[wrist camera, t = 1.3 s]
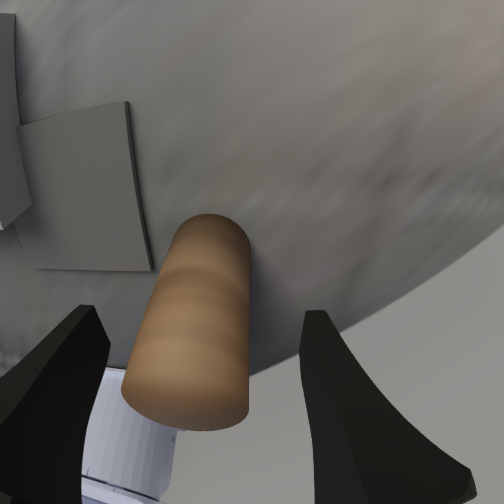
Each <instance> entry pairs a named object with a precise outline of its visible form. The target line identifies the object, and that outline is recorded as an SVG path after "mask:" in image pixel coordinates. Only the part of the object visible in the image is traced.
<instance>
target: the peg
mask: <svg viewBox="0 0 504 504" xmlns="http://www.w3.org/2000/svg"><path fill="white" fill-rule="evenodd" d="M249 299H250V244H249V240H248V238H247V235H246V234H245V232H244V231H243V229H242V228H241V227H240V226H239V225H238V224H236V223H235V222H234V221H232V220H230V219H229V218H226V217H224V216H220V215H215V214H202V215H197V216H194V217H192V218H190V219H188V220H186V221H185V222H184V223H183V224H182V225H181V226H180V227H179V228H178V230H177V231H176V233H175V236H174V238H173V240H172V243H171V245H170V248H169V250H168V253H167V255H166V258H165V260H164V263H163V266H162V268H161V271H160V273H159V276H158V279H157V281H156V284H155V287H154V289H153V292H152V295H151V297H150V300H149V303H148V306H147V309H146V311H145V314H144V317H143V320H142V323H141V326H140V329H139V332H138V335H137V337H136V340H135V344H134V347H133V350H132V353H131V356H130V359H129V362H128V365H127V369H126V372H125V375H124V378H123V382H122V385H121V393H122V396H123V398H124V400H125V401H126V402H127V404H128V405H129V406H130V407H131V408H133V409H134V410H135V411H136V412H138V413H139V414H141V415H142V416H144V417H146V418H148V419H150V420H152V421H154V422H157V423H160V424H162V425H165V426H169V427H173V428H177V429H183V430H190V431H214V430H221V429H225V428H229V427H231V426H234V425H236V424H238V423H240V422H241V421H242V420H243V419H245V417H246V416H247V414H248V411H249Z"/></svg>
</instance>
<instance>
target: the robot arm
mask: <svg viewBox="0 0 504 504" xmlns="http://www.w3.org/2000/svg"><path fill="white" fill-rule="evenodd" d="M110 346H111V343H110V341H109V339H108V337H107V334H106V332H105V330H104V328H103V326H102V323H101V321H100V319H99V317H98V314H97V312H96V309H95V307H94V306H93V305H79V306H78V307H77V308H75V309H74V310H73V311H72V312H71V313H70V314H69V315H68V316H67V317H66V318H65V319H64V320H63V321H62V322H61V323H59V324H58V325H57V326H56V327H55V328H54V329H53V330H52V331H51V332H50V333H49V334H48V335H47V336H46V337H45V338H44V339H43V340H42V341H41V342H40V343H39V344H38V345H37V346H36V347H35V348H34V349H33V350H32V351H31V352H30V353H29V354H27V355H26V356H25V357H24V358H23V359H22V360H21V361H20V362H19V363H18V364H17V365H16V366H14V367H13V368H12V369H11V370H10V371H8V372H7V373H6V374H5V375H3V376H2V377H1V378H0V504H166V503H162V502H159V499H160V497H161V496H162V495H163V494H164V493H165V492H166V490H167V489H168V487H169V484H170V479H171V471H172V463H173V455H174V448H175V440H176V433H177V431H187V430H183V429H177V428H173V427H169V426H165V425H162V424H160V423H157V422H154V421H152V420H150V419H148V418H146V417H144V416H142V415H141V414H139V413H138V412H136V411H135V410H134V409H133V408H131V407H130V406H129V405H128V404H127V402H126V401H125V400H124V398H123V396H122V393H121V385H122V382H123V378H124V375H125V372H126V370H124V369H116V368H109V367H106V365H107V361H108V356H109V351H110ZM299 357H300V371H301V381H302V386H303V391H304V397H305V403H306V408H307V413H308V419H309V424H310V430H311V437H312V444H313V459H314V460H313V461H314V487H315V504H463V503H465V502H467V501H469V500H472V499H474V498H475V497H476V496H477V491H476V487H475V482H474V479H473V476H472V473H471V470H470V469H469V468H467V467H466V466H464V465H462V464H461V463H459V462H458V461H456V460H455V459H453V458H452V457H450V456H449V455H448V454H446V453H445V452H444V451H442V450H441V449H440V448H438V447H437V446H436V445H435V444H433V443H432V442H431V441H430V440H429V439H427V438H426V437H425V436H424V435H423V434H422V433H420V431H418V430H417V429H416V428H415V427H414V426H413V425H412V424H410V422H408V421H407V420H406V419H405V418H404V417H403V416H402V415H401V414H400V412H399V411H398V410H397V409H396V408H395V407H394V406H393V405H392V404H391V403H390V402H389V401H388V400H387V398H386V397H385V396H384V395H383V394H382V393H381V391H380V390H379V389H378V388H377V387H376V385H375V384H374V383H373V381H372V380H371V379H370V378H369V376H368V375H367V374H366V372H365V371H364V370H363V368H362V367H361V366H360V364H359V363H358V361H357V360H356V359H355V357H354V355H353V354H352V353H351V351H350V350H349V348H348V347H347V345H346V344H345V342H344V340H343V339H342V337H341V336H340V334H339V332H338V331H337V329H336V328H335V326H334V324H333V322H332V321H331V319H330V317H329V315H328V314H327V312H326V311H325V310H311V311H306V312H305V318H304V324H303V330H302V336H301V342H300V348H299Z"/></svg>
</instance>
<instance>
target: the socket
mask: <svg viewBox="0 0 504 504" xmlns="http://www.w3.org/2000/svg"><path fill="white" fill-rule="evenodd" d="M14 25H15V14H7V13H0V230H4V229H5V228H6V227H7V226H8V225H9V224H10V223H11V222H12V221H13V220H15V219H16V218H17V217H18V216H19V215H20V214H21V213H22V212H24V211H25V210H26V209H27V208H28V207H29V206H31V205H32V204H33V203H32V200H31V196H30V192H29V189H28V185H27V181H26V177H25V172H24V168H23V163H22V159H21V154H20V149H19V143H18V137H17V132H16V128H17V127H19V126H21V124H20V117H19V109H18V100H17V90H16V78H15V58H14Z"/></svg>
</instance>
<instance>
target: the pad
mask: <svg viewBox="0 0 504 504" xmlns="http://www.w3.org/2000/svg"><path fill="white" fill-rule="evenodd" d="M16 132H17V137H18V143H19V149H20V154H21V159H22V163H23V168H24V172H25V177H26V181H27V185H28V189H29V192H30V196H31V200H32V203H33V204H32V205H31V206H29V207H28V208H27V209H26V210H25V211H24V212H22V213H21V214H20V215H19V216H18V217H17V218H16V219H15V220H13V223H14V226H15V229H16V232H17V235H18V238H19V241H20V243H21V246H22V249H23V251H24V254H25V256H26V259H27V261H28V264H29V266H30V268H32V269H64V270H104V271H151V270H152V268H153V264H152V259H151V254H150V250H149V245H148V240H147V235H146V229H145V224H144V219H143V213H142V207H141V201H140V195H139V189H138V183H137V176H136V169H135V162H134V154H133V146H132V138H131V128H130V119H129V108H128V101H125V102H119V103H113V104H107V105H102V106H97V107H92V108H87V109H82V110H78V111H73V112H69V113H65V114H61V115H57V116H53V117H49V118H46V119H42V120H38V121H35V122H31V123H28V124H25V125H22V126H19V127H17V128H16Z"/></svg>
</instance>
